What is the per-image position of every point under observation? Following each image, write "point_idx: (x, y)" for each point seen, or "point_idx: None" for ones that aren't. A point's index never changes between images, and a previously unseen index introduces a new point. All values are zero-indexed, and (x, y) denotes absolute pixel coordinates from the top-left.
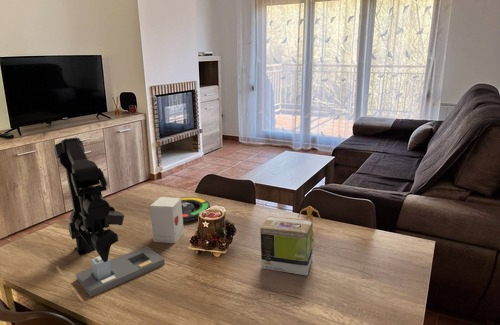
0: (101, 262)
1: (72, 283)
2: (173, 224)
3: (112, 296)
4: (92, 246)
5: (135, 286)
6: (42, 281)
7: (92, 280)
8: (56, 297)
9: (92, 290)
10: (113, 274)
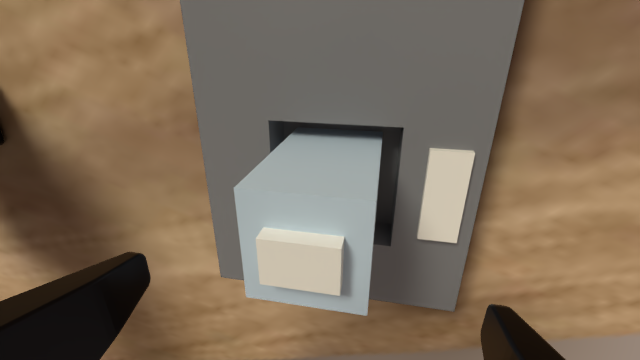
0: (370, 272)
1: None
2: None
3: (541, 203)
4: (109, 319)
5: (599, 41)
6: (157, 325)
7: None
8: (310, 344)
9: (457, 295)
10: (403, 138)
